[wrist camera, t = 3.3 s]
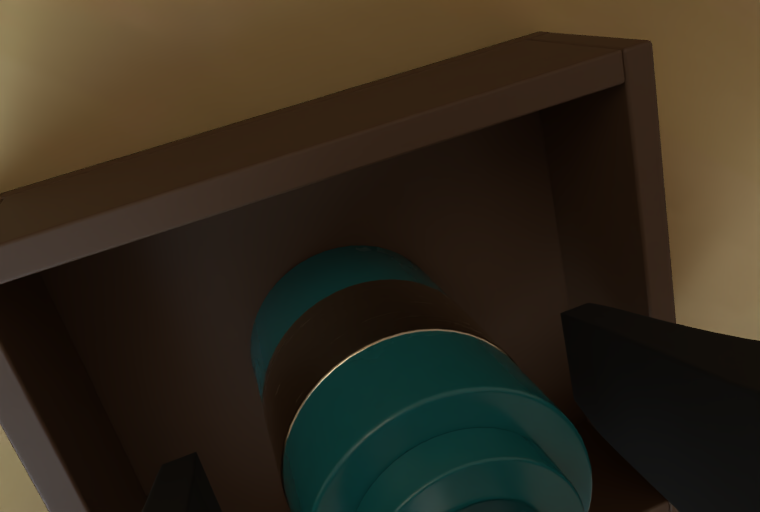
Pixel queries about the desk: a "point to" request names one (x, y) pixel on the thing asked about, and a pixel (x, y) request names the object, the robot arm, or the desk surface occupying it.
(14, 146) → the desk surface
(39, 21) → the desk surface
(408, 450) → the bottle
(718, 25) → the desk surface
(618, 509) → the bin
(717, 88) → the desk surface
